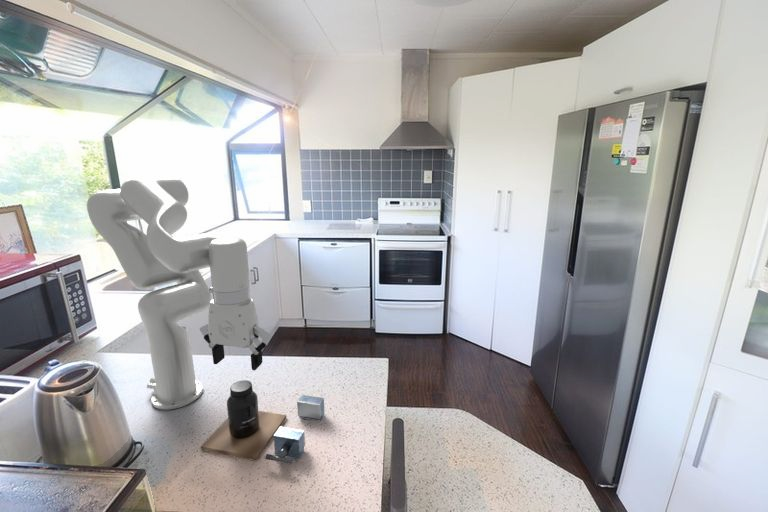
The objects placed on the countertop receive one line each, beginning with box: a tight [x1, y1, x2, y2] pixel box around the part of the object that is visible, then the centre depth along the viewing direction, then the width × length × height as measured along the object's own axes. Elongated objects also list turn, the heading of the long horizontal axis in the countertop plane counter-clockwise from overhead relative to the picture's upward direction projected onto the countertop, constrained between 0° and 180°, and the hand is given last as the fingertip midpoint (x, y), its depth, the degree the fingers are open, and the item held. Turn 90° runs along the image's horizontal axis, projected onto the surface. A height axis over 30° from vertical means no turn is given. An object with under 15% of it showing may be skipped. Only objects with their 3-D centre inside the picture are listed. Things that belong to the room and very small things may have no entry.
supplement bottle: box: [226, 379, 259, 439], centre depth 86 cm, size 7×7×12 cm
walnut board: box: [200, 410, 287, 462], centre depth 88 cm, size 14×14×1 cm
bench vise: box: [264, 394, 325, 465], centre depth 86 cm, size 6×19×5 cm, turn 168°
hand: (237, 364), depth 84 cm, fingers open, 9 cm apart
